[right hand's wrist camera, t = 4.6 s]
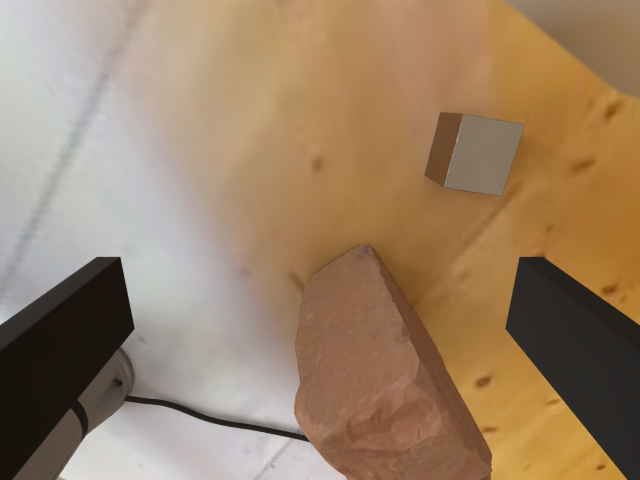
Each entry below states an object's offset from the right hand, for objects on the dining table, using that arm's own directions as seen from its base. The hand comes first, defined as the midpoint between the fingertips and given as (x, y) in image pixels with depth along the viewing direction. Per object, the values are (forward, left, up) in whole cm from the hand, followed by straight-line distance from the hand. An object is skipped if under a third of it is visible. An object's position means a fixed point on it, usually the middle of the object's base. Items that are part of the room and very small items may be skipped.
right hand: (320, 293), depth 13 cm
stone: (-20, +10, -34) cm, 41 cm away
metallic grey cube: (-11, -13, -34) cm, 38 cm away
